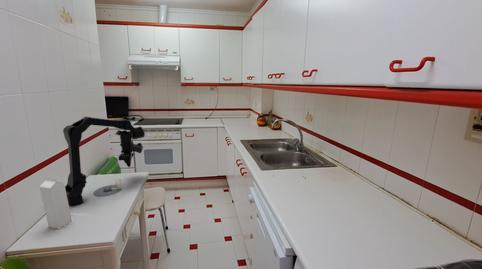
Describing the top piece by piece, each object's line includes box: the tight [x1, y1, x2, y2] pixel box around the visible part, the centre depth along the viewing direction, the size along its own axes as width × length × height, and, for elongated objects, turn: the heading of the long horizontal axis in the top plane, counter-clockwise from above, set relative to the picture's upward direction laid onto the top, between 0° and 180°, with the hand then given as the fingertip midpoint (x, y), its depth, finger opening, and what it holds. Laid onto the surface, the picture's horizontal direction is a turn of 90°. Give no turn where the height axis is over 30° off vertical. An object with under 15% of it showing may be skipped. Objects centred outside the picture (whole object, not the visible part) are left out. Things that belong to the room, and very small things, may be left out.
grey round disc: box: [92, 184, 123, 198], centre depth 134 cm, size 14×14×1 cm
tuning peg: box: [103, 178, 123, 192], centre depth 133 cm, size 9×4×6 cm, turn 101°
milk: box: [39, 176, 72, 230], centre depth 102 cm, size 6×6×22 cm
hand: (129, 166), depth 141 cm, fingers closed
